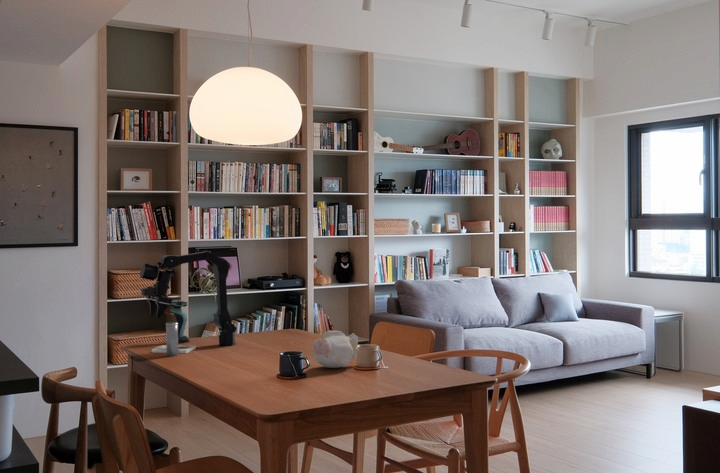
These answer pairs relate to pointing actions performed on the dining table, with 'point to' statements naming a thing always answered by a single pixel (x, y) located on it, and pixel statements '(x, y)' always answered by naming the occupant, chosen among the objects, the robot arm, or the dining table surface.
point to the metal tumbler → (172, 339)
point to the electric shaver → (179, 319)
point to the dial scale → (180, 349)
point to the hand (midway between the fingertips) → (154, 317)
